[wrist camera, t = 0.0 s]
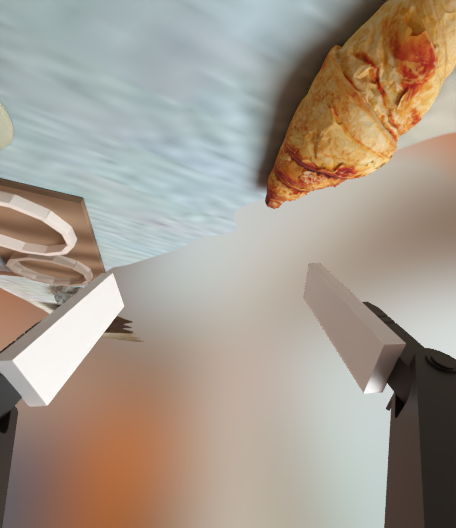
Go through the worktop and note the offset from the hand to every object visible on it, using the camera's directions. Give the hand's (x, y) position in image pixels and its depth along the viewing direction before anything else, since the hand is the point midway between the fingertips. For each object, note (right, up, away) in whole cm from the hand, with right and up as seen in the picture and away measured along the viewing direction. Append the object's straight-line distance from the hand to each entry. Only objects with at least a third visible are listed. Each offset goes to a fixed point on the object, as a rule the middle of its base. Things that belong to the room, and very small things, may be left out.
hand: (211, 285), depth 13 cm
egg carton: (-40, -6, +41) cm, 57 cm away
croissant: (+12, +16, +5) cm, 20 cm away
